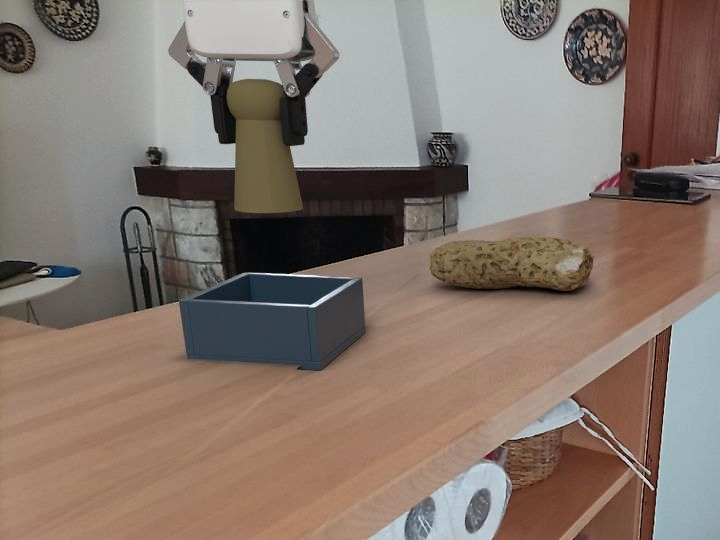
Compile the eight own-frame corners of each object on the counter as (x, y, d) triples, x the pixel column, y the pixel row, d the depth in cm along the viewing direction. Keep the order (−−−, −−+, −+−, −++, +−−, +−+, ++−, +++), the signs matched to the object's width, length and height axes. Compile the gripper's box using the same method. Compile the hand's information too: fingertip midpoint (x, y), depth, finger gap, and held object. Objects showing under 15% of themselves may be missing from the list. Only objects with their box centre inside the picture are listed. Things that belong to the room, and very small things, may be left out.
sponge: (590, 291, 107) (456, 251, 110) (602, 238, 102) (462, 198, 106) (562, 332, 96) (415, 286, 100) (574, 275, 92) (420, 229, 95)
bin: (187, 362, 71) (178, 300, 69) (250, 326, 83) (244, 272, 81) (320, 370, 70) (315, 307, 68) (365, 332, 81) (362, 277, 79)
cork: (243, 204, 74) (229, 79, 70) (308, 204, 75) (298, 80, 71) (226, 212, 68) (210, 77, 64) (297, 213, 69) (285, 79, 65)
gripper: (356, -82, 66) (369, 144, 72) (165, -81, 67) (194, 140, 74) (323, -104, 59) (340, 149, 65) (111, -103, 60) (148, 143, 67)
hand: (262, 142), depth 69 cm, fingers closed on cork, 5 cm apart
